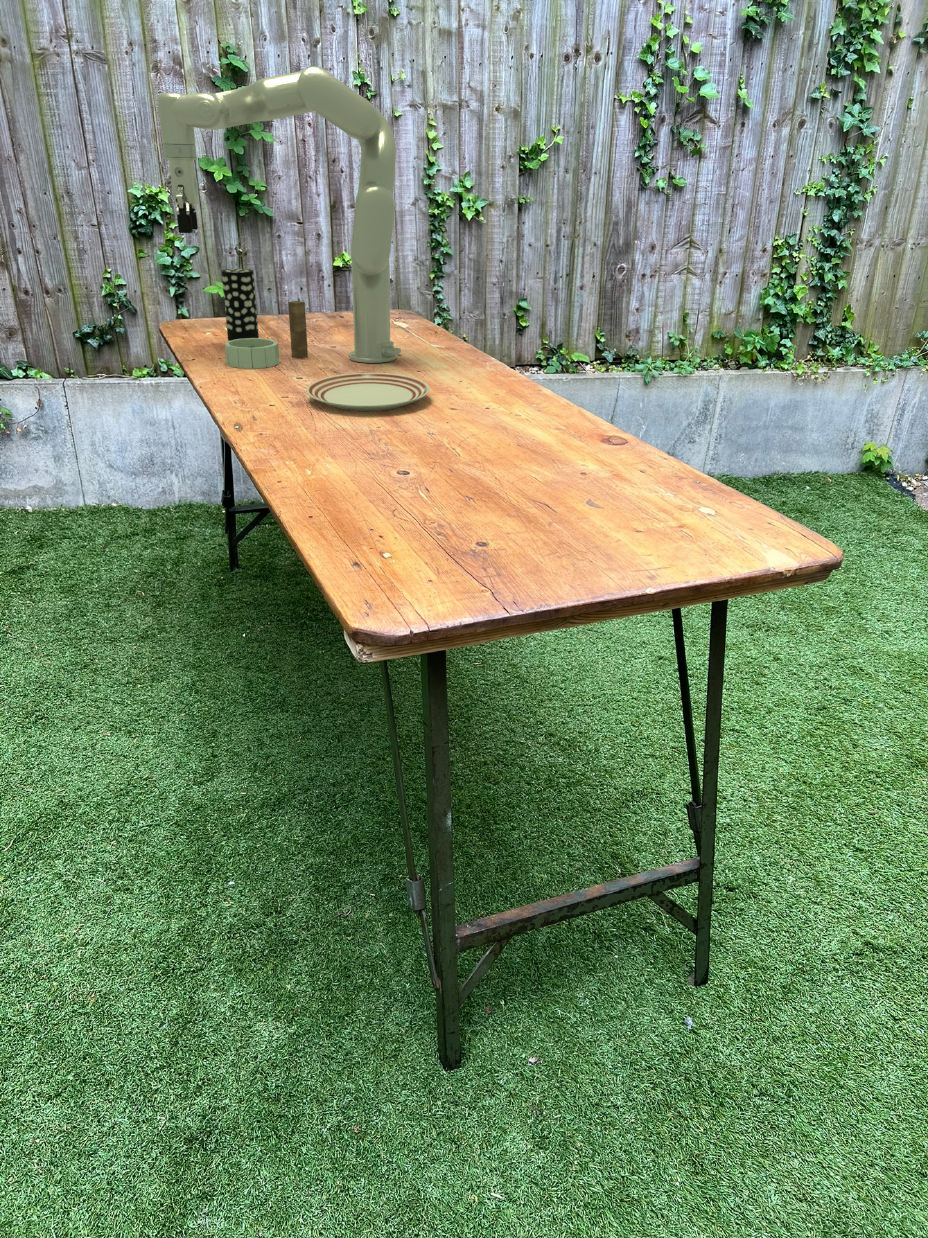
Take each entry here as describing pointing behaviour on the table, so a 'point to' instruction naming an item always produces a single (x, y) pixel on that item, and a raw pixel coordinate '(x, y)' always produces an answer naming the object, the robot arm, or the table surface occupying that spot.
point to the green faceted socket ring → (252, 353)
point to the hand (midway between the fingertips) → (188, 230)
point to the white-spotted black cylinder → (240, 303)
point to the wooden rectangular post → (298, 329)
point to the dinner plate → (368, 391)
